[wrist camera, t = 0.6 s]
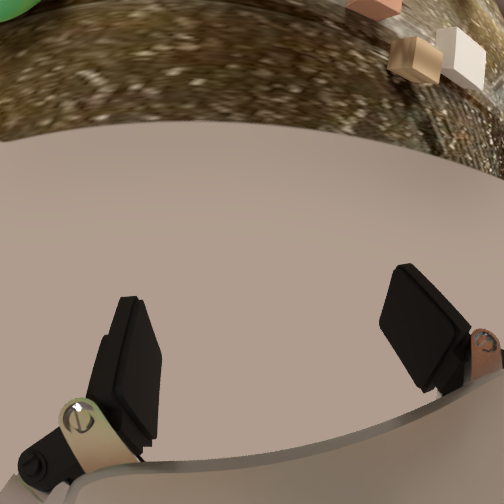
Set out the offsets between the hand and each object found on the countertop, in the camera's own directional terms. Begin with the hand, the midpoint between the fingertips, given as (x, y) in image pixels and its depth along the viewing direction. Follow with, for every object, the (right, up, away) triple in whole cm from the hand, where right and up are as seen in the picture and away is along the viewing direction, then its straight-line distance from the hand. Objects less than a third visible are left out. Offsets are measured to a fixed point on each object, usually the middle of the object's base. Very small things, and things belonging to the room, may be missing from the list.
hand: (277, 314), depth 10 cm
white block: (+32, +34, +19) cm, 50 cm away
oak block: (+21, +30, +20) cm, 41 cm away
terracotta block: (+14, +36, +15) cm, 42 cm away
